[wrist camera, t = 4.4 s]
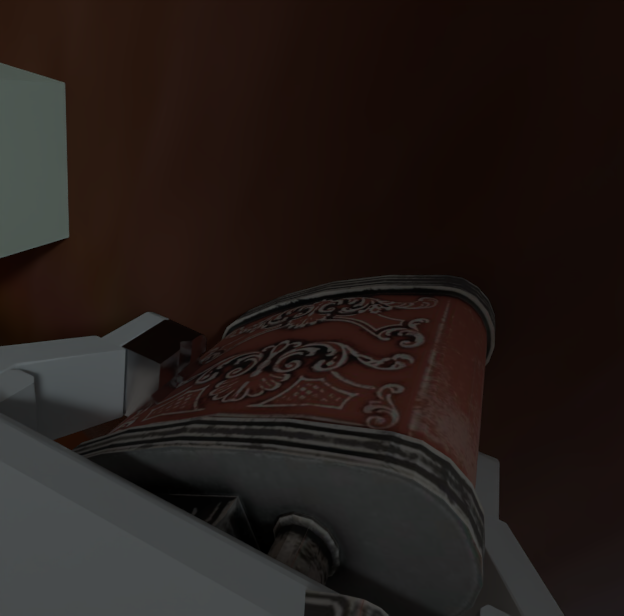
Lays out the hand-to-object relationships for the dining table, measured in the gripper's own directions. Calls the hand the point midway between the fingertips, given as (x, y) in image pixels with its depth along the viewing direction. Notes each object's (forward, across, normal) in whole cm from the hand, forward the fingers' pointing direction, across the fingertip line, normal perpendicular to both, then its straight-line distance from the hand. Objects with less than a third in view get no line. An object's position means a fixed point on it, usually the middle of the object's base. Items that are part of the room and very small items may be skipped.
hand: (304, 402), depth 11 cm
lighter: (+4, 0, 0) cm, 4 cm away
